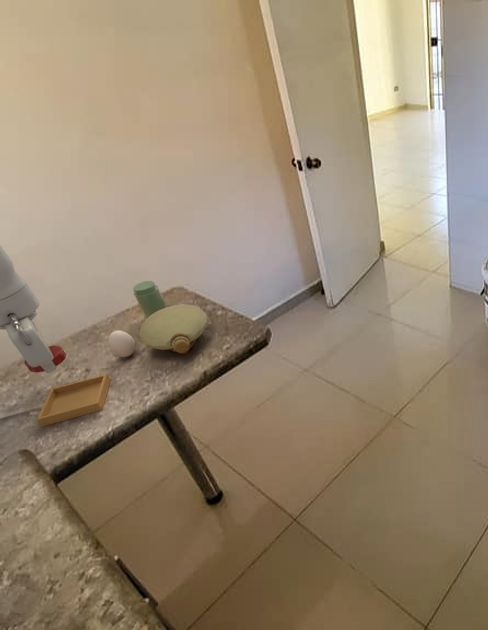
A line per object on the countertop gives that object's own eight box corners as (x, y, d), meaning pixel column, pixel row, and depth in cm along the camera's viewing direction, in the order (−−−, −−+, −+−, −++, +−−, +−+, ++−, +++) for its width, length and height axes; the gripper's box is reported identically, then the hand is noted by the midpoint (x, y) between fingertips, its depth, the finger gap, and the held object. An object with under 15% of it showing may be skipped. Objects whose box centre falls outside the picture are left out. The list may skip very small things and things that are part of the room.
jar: (147, 326, 120) (130, 293, 114) (148, 315, 124) (131, 283, 118) (170, 319, 122) (155, 287, 116) (170, 309, 126) (155, 277, 120)
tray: (42, 426, 91) (36, 419, 89) (56, 394, 99) (50, 388, 97) (102, 409, 94) (97, 402, 93) (111, 380, 102) (106, 373, 100)
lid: (70, 349, 92) (65, 342, 91) (61, 367, 87) (56, 360, 86) (35, 357, 91) (30, 350, 89) (24, 376, 86) (19, 369, 85)
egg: (140, 357, 108) (126, 333, 104) (116, 364, 106) (101, 341, 102) (139, 346, 112) (127, 323, 108) (116, 353, 110) (102, 330, 106)
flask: (207, 317, 121) (223, 351, 109) (144, 339, 114) (155, 378, 102) (195, 289, 115) (211, 322, 103) (129, 311, 109) (138, 349, 96)
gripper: (37, 318, 76) (77, 376, 84) (18, 281, 89) (55, 335, 97) (-8, 334, 73) (38, 393, 81) (-21, 294, 85) (20, 349, 93)
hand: (47, 361), depth 89 cm, fingers closed on lid, 6 cm apart
